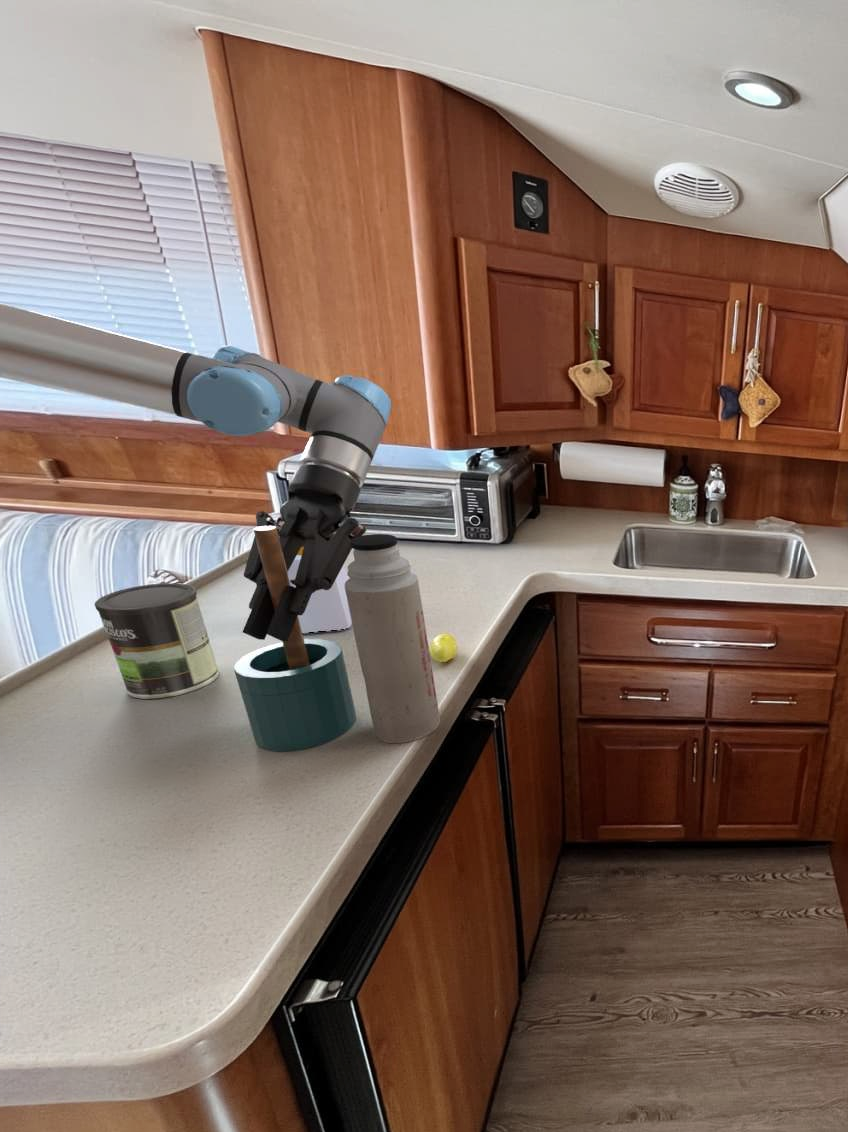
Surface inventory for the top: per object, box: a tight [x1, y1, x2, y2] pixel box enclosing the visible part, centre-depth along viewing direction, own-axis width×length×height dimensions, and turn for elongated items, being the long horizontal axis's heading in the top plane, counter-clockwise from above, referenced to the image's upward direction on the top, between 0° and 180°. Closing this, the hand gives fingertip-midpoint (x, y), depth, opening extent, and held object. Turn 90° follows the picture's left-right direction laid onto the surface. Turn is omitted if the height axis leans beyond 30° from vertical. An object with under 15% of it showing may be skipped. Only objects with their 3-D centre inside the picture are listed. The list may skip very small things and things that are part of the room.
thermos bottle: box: [345, 533, 441, 744], centre depth 84 cm, size 8×8×28 cm
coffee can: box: [94, 582, 220, 700], centre depth 93 cm, size 10×10×14 cm
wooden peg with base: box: [253, 526, 310, 670], centre depth 82 cm, size 4×4×26 cm
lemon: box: [429, 633, 459, 663], centre depth 108 cm, size 4×8×4 cm, turn 22°
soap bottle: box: [287, 546, 352, 634], centre depth 111 cm, size 10×14×22 cm
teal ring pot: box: [233, 638, 357, 752], centre depth 86 cm, size 11×11×11 cm
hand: (265, 636), depth 79 cm, fingers closed on wooden peg with base, 2 cm apart
